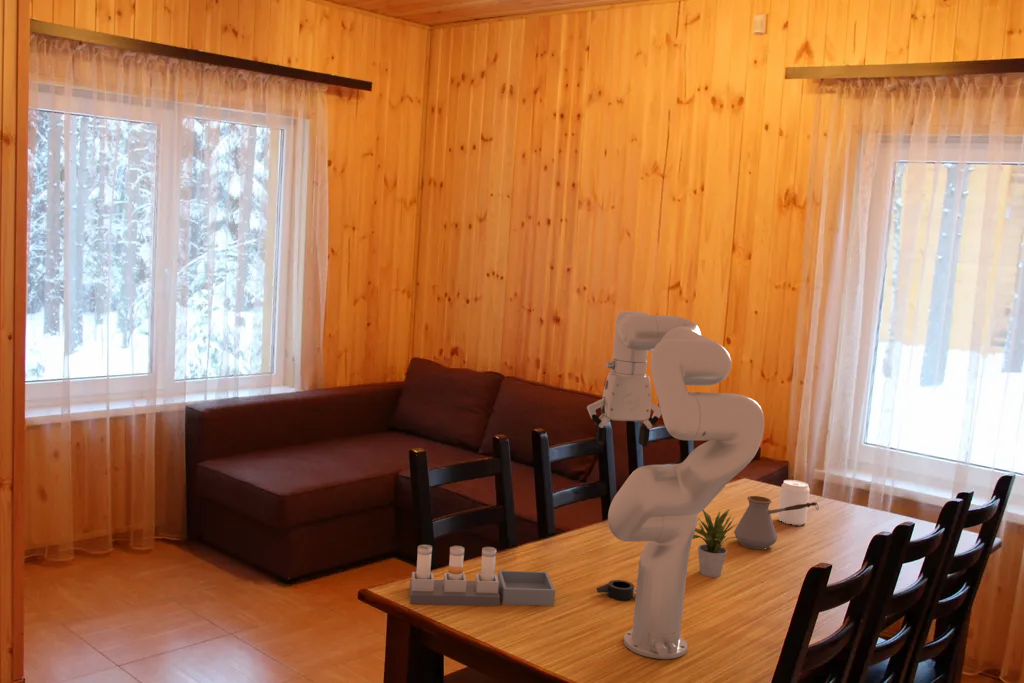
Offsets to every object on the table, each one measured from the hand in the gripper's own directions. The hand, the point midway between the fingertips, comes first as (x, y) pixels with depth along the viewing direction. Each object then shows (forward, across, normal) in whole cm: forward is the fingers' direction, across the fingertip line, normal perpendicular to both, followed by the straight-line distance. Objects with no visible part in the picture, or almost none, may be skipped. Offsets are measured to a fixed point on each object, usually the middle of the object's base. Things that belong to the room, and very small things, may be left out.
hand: (621, 444), depth 215 cm
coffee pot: (+36, +58, +32) cm, 76 cm away
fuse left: (+33, -42, +4) cm, 53 cm away
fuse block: (+35, -34, +3) cm, 50 cm away
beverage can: (+36, +77, +55) cm, 102 cm away
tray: (+35, -18, +3) cm, 40 cm away
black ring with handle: (+36, +4, +2) cm, 36 cm away
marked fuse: (+33, -34, +3) cm, 48 cm away
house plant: (+36, +32, +16) cm, 51 cm away
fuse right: (+33, -28, +2) cm, 43 cm away
